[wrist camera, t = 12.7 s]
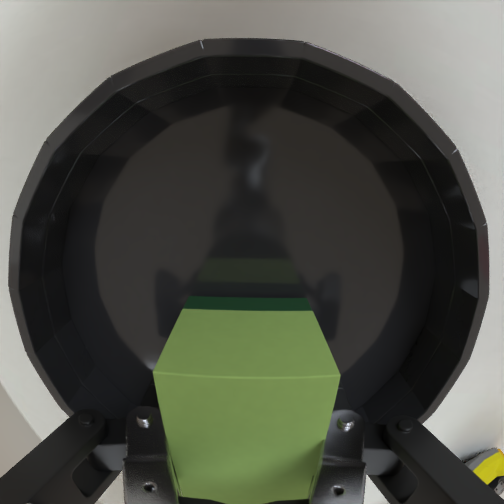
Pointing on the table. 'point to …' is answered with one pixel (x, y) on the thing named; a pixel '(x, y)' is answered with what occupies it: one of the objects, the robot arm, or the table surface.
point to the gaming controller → (488, 466)
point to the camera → (500, 486)
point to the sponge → (246, 398)
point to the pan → (249, 223)
